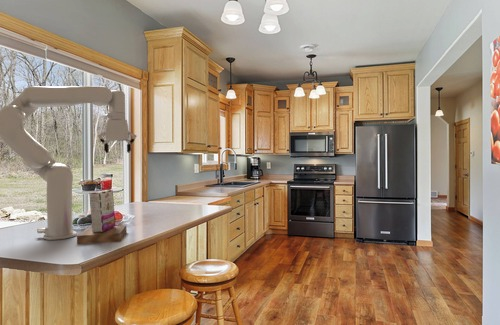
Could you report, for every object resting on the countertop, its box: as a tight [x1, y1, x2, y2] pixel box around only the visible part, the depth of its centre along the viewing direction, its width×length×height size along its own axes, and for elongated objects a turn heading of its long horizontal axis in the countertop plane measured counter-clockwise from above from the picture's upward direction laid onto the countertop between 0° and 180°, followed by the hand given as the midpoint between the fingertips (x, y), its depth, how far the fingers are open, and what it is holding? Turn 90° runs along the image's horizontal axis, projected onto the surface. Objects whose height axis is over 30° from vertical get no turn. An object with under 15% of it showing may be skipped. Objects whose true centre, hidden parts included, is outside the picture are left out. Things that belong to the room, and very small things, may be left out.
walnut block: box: [76, 224, 127, 245], centre depth 141 cm, size 16×16×4 cm
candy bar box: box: [89, 189, 117, 232], centre depth 142 cm, size 11×5×16 cm, turn 176°
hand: (117, 152), depth 159 cm, fingers open, 9 cm apart
